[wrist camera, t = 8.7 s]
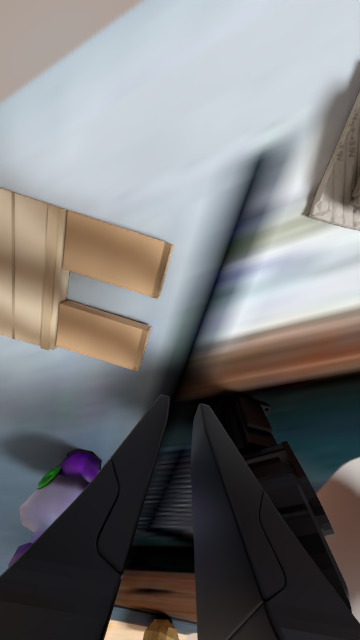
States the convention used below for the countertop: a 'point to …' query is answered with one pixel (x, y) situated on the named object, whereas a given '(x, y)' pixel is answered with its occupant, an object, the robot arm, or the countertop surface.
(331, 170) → the packaged product
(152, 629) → the potato
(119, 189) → the countertop surface
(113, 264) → the outer oak plank
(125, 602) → the countertop surface
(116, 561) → the robot arm
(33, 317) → the pine floorboard strip
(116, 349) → the inner oak plank
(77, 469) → the potion bottle
